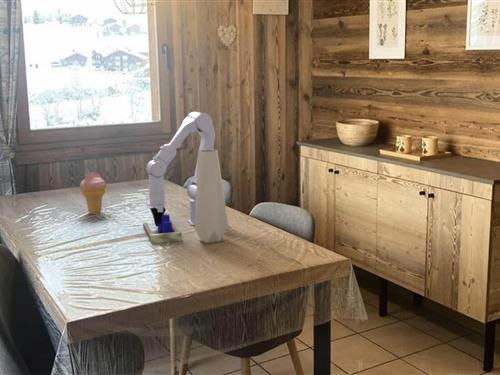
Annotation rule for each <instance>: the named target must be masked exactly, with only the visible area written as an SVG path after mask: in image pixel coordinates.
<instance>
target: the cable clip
mask: <svg viewBox="0 0 500 375" xmlns="http://www.w3.org/2000/svg"><path fill="white" fill-rule="evenodd" d="M161 218H162V222H159V223H158V226H157V232H158V234H161V233H171V232H172V223H173V221H172V222H170V219H171V218H170V214H167V213H165V214H164V215H161Z"/></svg>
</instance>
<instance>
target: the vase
mask: <svg viewBox="0 0 500 375" xmlns="http://www.w3.org/2000/svg"><path fill="white" fill-rule="evenodd" d="M218 152H219V151H218V149H214V148H213V149H204V150H199V149H198V152H197V159H198V166H197V189H196V213H195V225H194V230H195V232H196V234H197V237H198V238H199V241H201V242H203V243H206V244H211V243H219V242H221V241H222V238H223V237H224V234H225V232H226V231H227V229H228V227H229V221H228V213H227V208H226V200H225V193H224V186H223V185H224V184H223V180H222V174H221V167H220V159H219V153H218Z"/></svg>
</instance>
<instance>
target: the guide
mask: <svg viewBox="0 0 500 375" xmlns="http://www.w3.org/2000/svg"><path fill="white" fill-rule="evenodd" d="M170 222H172V232H171V233H161V234H159V233H153V231H152V229H151V228H150V226H149V224H148V222H142V228H143V230H144V232H145V234H146V236H147V238H148V239H149V241H150V244H162V243H171V242H172V243H174V242H180V241H182V240H183V239H182V238H183V236H182V232H181V231H179V230H178V228H177V227H176V226H175V224H174V223H173V221H172V220H170Z"/></svg>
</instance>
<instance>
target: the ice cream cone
mask: <svg viewBox="0 0 500 375" xmlns="http://www.w3.org/2000/svg"><path fill="white" fill-rule="evenodd" d="M85 170H86V172H87V173H84V176H85V178H83V180H82V181H81V182H80V184H79V189H80V190H81V195H82V196H83V198H85V200H86V205H87V206H86V207H87V211H88V213H89V214H90V215H99V214H101V212H102V204H103V203H102V202H103V197H104V195H105V193H106V188H107V183H106V181H105V180H104V179H103V178H102V177H101V174H99V173H98V172H96V171H94V172H90V171H89V169H88V167H87V166H86V165H85Z"/></svg>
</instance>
